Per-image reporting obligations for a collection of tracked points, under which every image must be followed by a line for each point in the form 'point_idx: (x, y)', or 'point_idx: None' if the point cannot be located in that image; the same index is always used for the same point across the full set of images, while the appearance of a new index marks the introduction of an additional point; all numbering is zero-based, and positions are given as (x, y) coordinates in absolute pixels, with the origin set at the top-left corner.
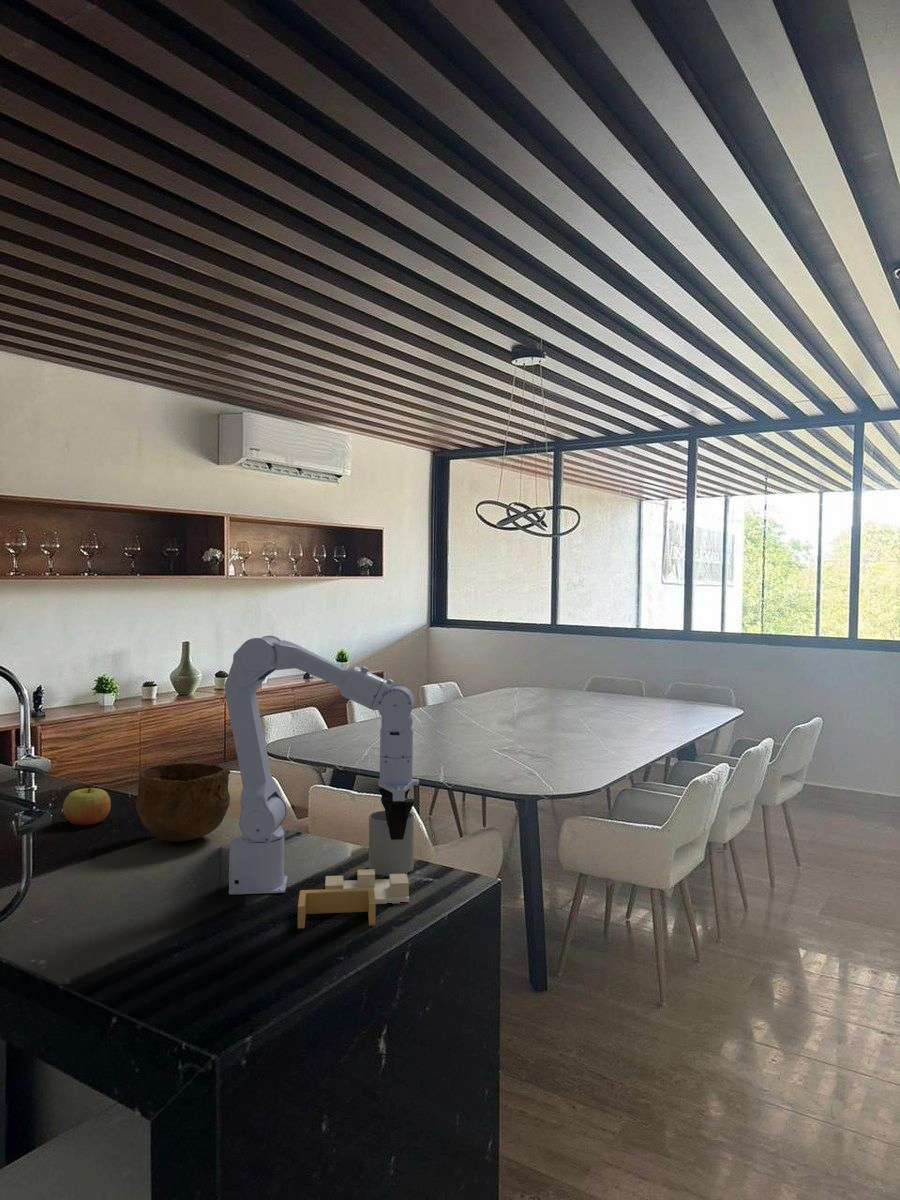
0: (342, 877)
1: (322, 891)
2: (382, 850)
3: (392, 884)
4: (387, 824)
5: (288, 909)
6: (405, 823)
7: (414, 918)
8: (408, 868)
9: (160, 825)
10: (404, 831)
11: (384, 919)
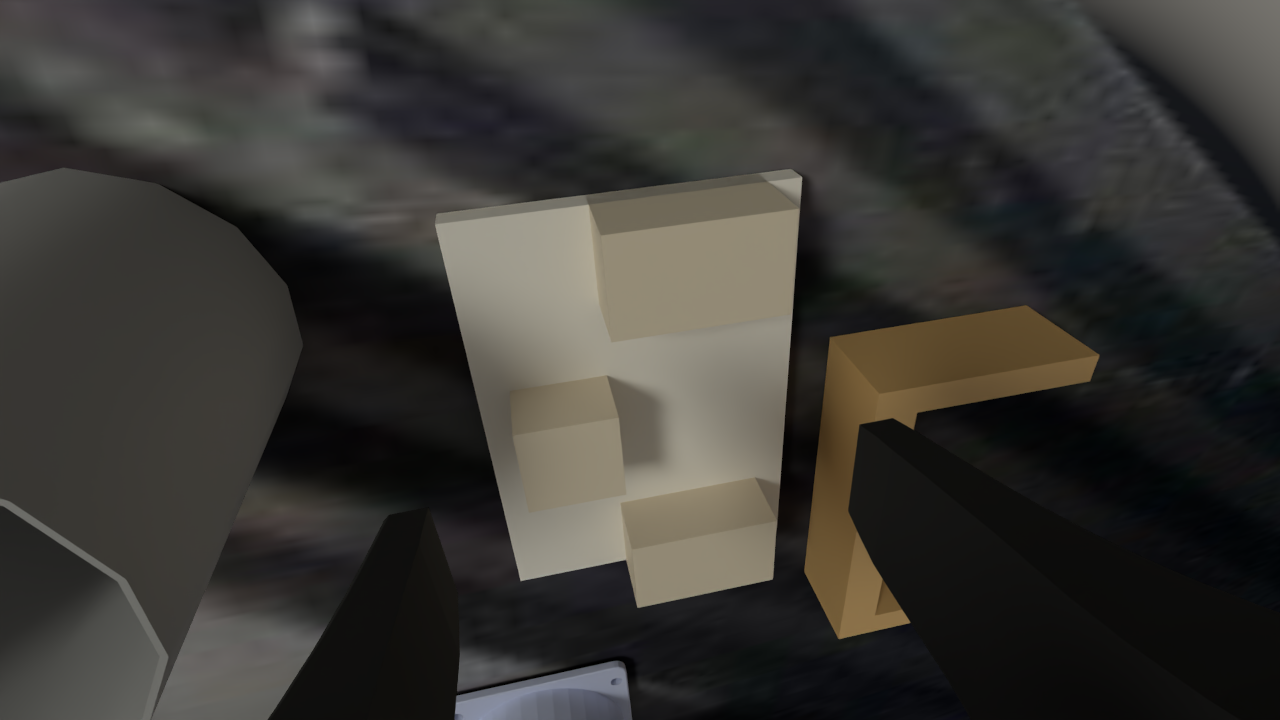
0: (661, 546)
1: (872, 573)
2: (254, 464)
3: (788, 303)
4: (457, 626)
5: (781, 603)
6: (1051, 519)
7: (1010, 130)
8: (178, 212)
9: None
10: (961, 459)
11: (974, 275)
